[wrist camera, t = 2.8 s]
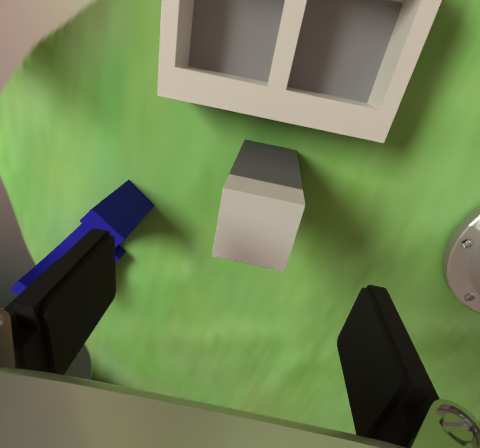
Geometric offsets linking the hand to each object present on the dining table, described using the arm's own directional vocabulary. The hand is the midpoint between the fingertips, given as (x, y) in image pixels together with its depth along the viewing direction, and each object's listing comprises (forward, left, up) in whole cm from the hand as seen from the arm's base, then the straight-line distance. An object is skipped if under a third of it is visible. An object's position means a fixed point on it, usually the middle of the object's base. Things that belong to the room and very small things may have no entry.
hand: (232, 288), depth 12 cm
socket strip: (0, -9, -15) cm, 17 cm away
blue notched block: (+12, +10, -15) cm, 22 cm away
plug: (-1, 0, -15) cm, 15 cm away
